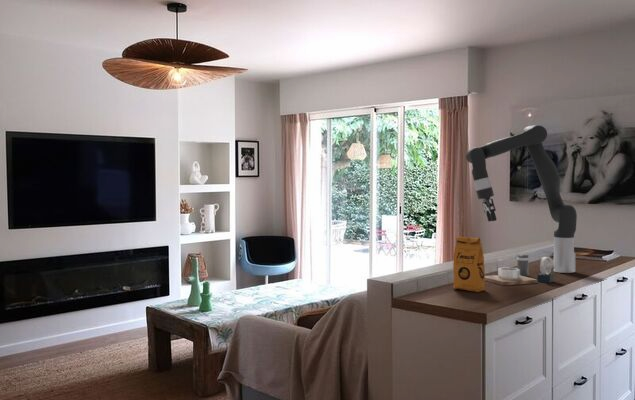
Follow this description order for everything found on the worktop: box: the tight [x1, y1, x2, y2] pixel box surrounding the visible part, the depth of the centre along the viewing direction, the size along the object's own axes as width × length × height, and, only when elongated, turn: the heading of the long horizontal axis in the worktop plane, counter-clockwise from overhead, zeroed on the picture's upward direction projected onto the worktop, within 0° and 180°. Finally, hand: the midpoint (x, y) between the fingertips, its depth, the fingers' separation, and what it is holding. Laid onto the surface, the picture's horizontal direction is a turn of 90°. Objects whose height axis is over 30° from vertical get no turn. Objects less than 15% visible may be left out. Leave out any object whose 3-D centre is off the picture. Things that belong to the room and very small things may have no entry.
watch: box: [536, 256, 555, 284], centre depth 258 cm, size 6×8×11 cm
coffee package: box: [452, 236, 486, 293], centre depth 238 cm, size 10×12×22 cm
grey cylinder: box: [516, 253, 530, 278], centre depth 272 cm, size 5×5×10 cm
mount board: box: [485, 274, 538, 286], centre depth 258 cm, size 18×16×2 cm
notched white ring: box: [497, 267, 520, 280], centre depth 258 cm, size 9×9×4 cm
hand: (492, 221), depth 275 cm, fingers open, 8 cm apart
